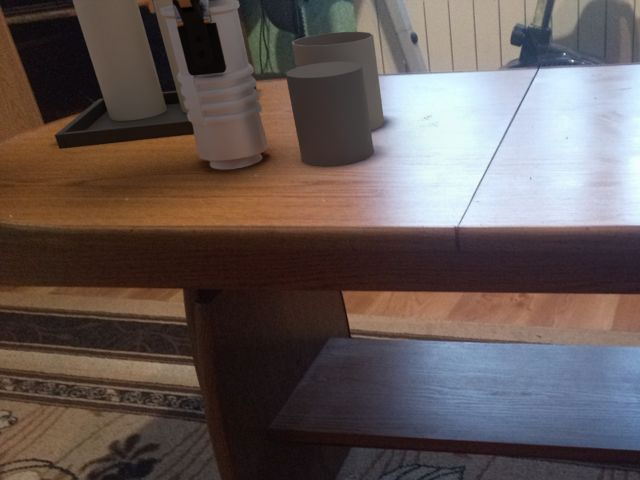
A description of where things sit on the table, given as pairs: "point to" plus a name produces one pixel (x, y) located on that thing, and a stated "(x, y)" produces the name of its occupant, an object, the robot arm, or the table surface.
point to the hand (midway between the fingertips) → (213, 64)
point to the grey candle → (330, 113)
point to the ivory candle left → (121, 58)
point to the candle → (222, 95)
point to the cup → (346, 50)
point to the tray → (124, 125)
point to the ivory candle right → (169, 47)
